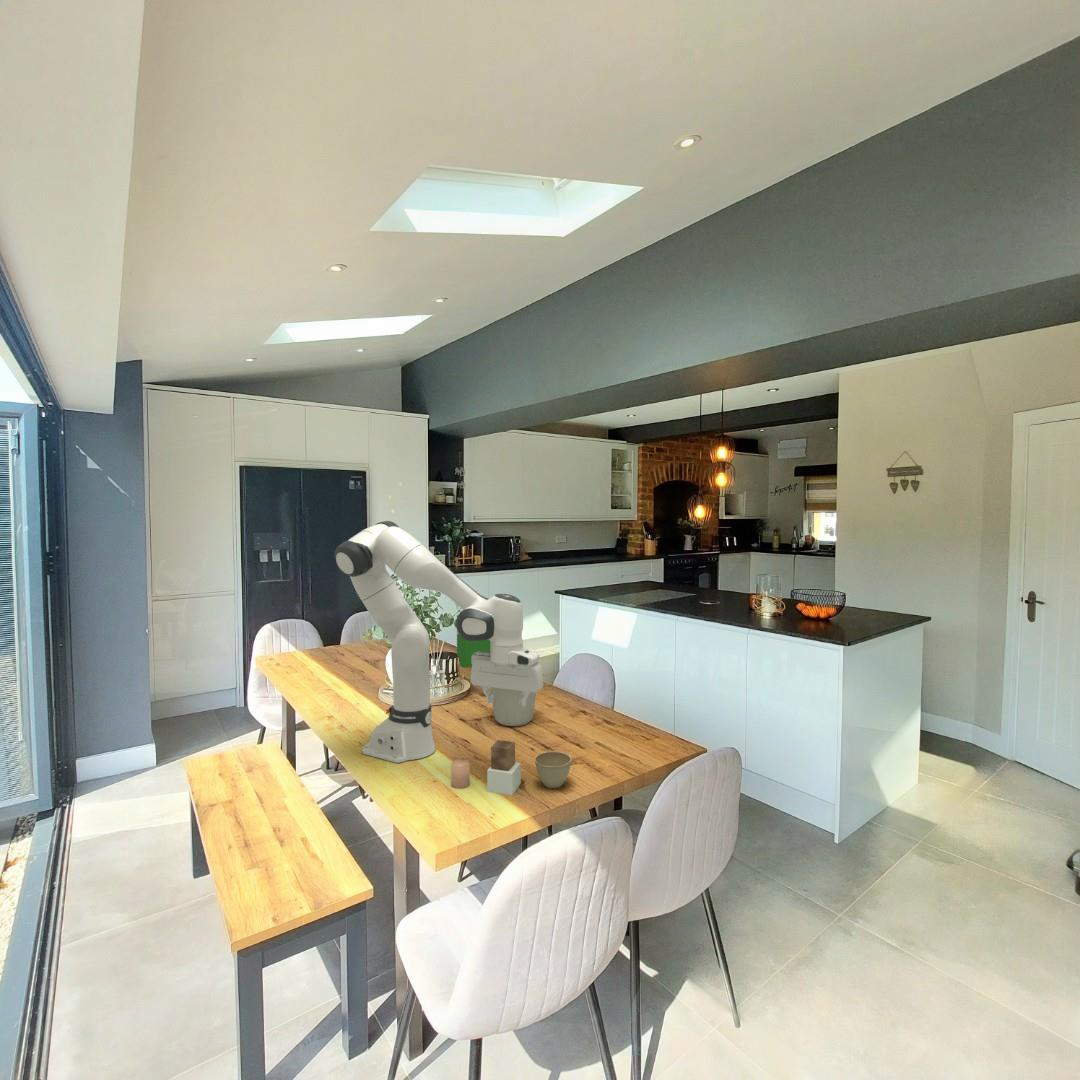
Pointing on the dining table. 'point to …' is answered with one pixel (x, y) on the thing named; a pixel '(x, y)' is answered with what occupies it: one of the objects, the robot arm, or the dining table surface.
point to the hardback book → (470, 649)
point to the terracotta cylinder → (460, 774)
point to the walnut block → (502, 755)
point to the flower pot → (553, 768)
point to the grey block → (504, 780)
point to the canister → (512, 706)
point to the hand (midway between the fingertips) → (505, 704)
